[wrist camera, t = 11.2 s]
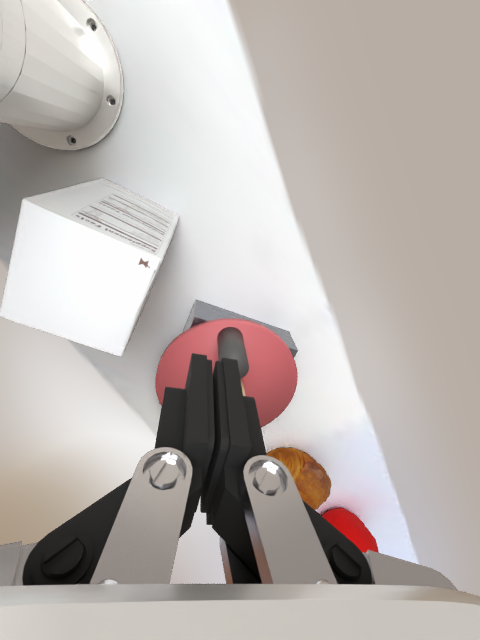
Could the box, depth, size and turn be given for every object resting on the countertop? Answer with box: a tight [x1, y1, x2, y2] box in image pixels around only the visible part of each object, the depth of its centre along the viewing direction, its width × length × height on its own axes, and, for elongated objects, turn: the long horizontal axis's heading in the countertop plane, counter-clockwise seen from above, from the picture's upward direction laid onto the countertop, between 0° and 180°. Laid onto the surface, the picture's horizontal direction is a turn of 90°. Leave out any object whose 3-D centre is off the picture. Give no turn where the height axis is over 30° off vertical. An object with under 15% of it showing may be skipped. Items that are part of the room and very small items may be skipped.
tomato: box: [322, 508, 379, 553], centre depth 63 cm, size 13×13×13 cm
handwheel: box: [156, 318, 297, 427], centre depth 38 cm, size 18×18×7 cm
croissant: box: [267, 448, 331, 509], centre depth 57 cm, size 14×16×8 cm
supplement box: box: [0, 178, 179, 357], centre depth 29 cm, size 10×9×17 cm
